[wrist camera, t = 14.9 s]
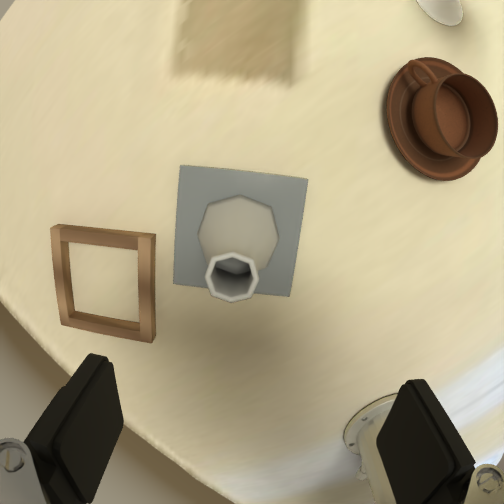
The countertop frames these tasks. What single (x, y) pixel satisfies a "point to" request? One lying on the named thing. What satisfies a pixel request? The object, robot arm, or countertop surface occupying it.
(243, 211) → the flask
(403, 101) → the cup and saucer
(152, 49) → the countertop surface
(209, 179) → the slate tile
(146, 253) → the square wooden frame
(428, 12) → the champagne flute
